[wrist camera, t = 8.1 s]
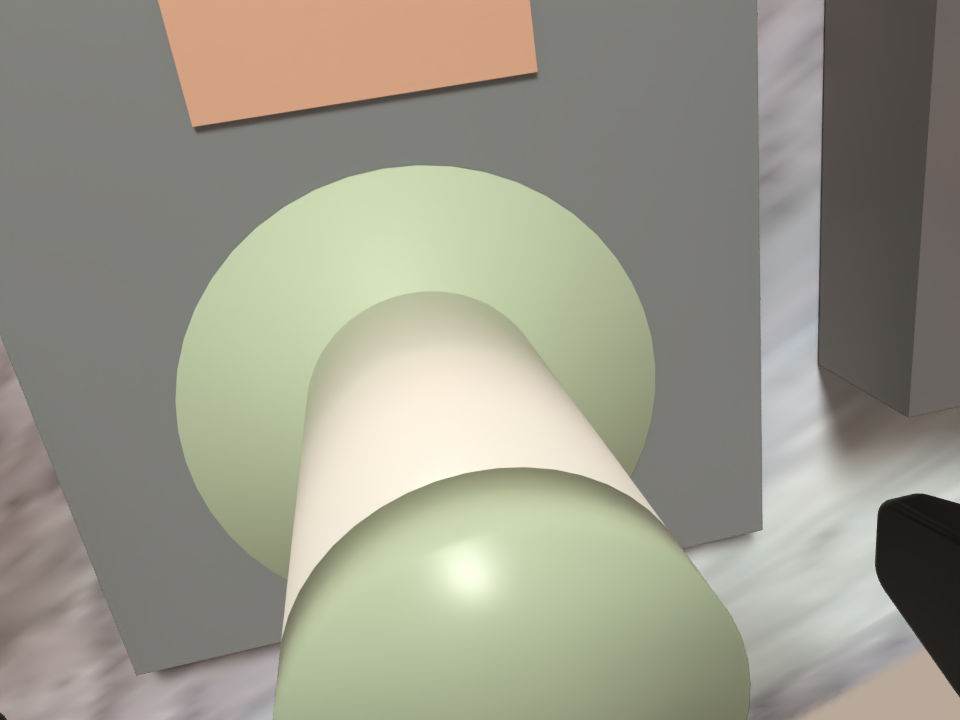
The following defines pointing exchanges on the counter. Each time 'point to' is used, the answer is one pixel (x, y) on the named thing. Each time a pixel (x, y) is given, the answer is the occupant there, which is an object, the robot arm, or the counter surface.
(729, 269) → the picture board
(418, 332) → the cream cylinder
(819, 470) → the counter surface
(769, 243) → the counter surface
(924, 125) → the button housing
